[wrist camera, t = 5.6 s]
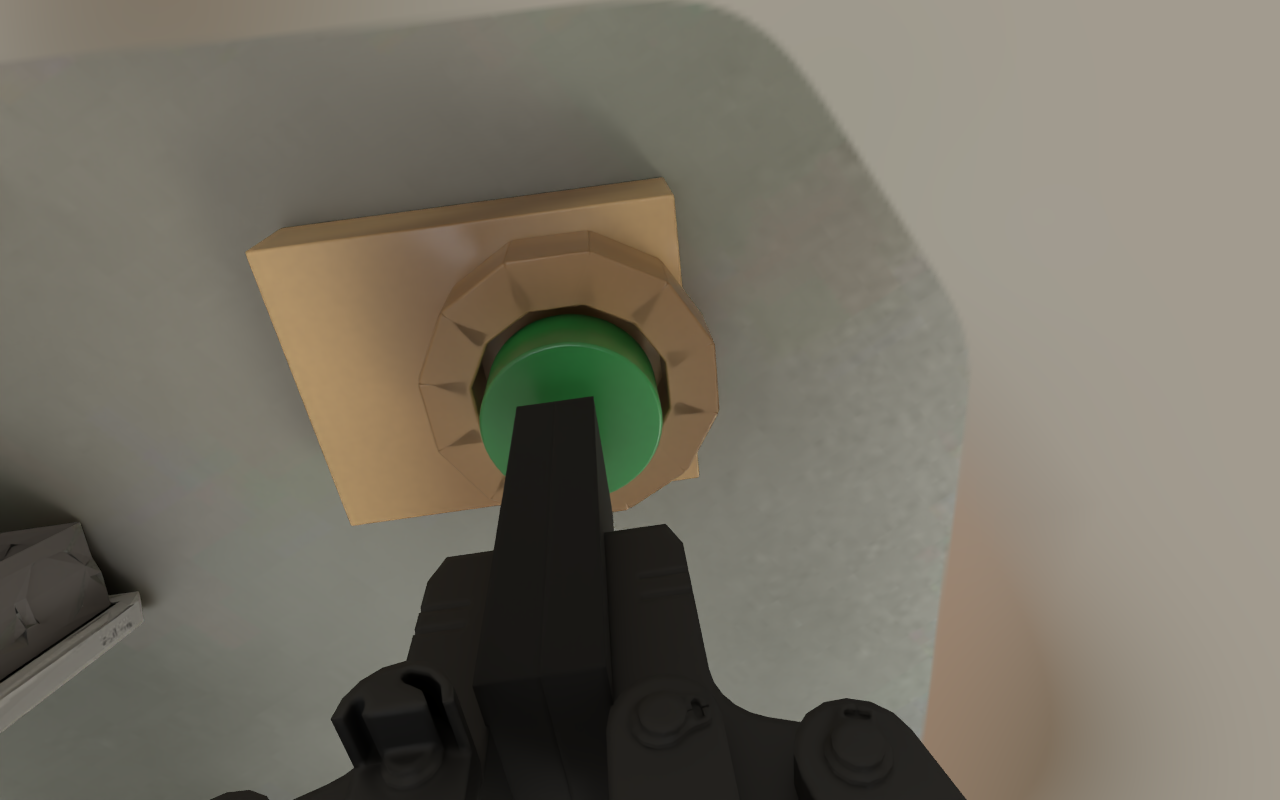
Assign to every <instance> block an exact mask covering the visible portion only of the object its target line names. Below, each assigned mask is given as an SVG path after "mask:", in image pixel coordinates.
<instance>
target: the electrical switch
mask: <svg viewBox="0 0 1280 800" xmlns="http://www.w3.org/2000/svg"><path fill="white" fill-rule="evenodd" d="M13 544H19V545H16V546H13ZM12 546H13V547H12ZM143 622H144V617H143V611H142V605H141V598H140V594H139V591H136V592H129V593H122V594H115V595H108V593H107V590H106V586H105V583H104V579H103V576H102V572H101V571H100V569H99V568H98V566H97V565H96V563H95V562H94V560H93V559H92V556H91V553H90V551H89V548H88V545H87V542H86V539H85V536H84V533H83V530H82V527H81V524H80V522H75V523H68V524H61V525H53V526H46V527H39V528H32V529H25V530H18V531H11V532H4V533H0V733H1V732H3V731H4V730H5V729H6V728H8V727H9V726H10V725H12V724H13V723H14V722H16V721H17V720H18V719H19V718H21V717H22V716H23V715H25V714H26V713H27V712H29V711H30V710H31V709H32V708H34V707H35V706H36V705H38V704H39V703H40V702H42V701H43V700H44V699H45V698H47V697H48V696H49V695H51V694H52V693H53V692H54V691H56V690H57V689H58V688H60V687H61V686H62V685H64V684H65V683H66V682H67V681H69V680H70V679H71V678H73V677H74V676H75V675H77V674H78V673H79V672H80V671H82V670H83V669H84V668H86V667H87V666H88V665H90V664H91V663H92V662H93V661H95V660H96V659H97V658H99V657H100V656H101V655H102V654H104V653H105V652H106V651H108V650H109V649H110V648H112V647H113V646H114V645H115V644H117V643H118V642H119V641H120V640H122V639H123V638H124V637H126V636H127V635H128V634H129V633H131V632H132V631H133V630H134V629H136V628H137V627H138V626H139V625H141V624H142V623H143Z"/></svg>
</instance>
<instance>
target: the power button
mask: <svg viewBox="0 0 1280 800" xmlns="http://www.w3.org/2000/svg"><path fill="white" fill-rule="evenodd" d="M590 396H593V397H594V403H595V409H596V415H597V421H598V427H599V433H600V439H601V445H602V451H603V457H604V463H605V469H606V475H607V481H608V487H609V493H612V492H614V491H616V490H618V489H620V488H622V487H623V486H625V485H627V484H628V483H629V482H631V481H632V480H633V479H635V478H636V477H637V476H638V475H639V474H640V473H641V472H642V471H643V470H644V469H645V467H646V466H647V465H648V463H649V462H650V461H651V459H652V457H653V456H654V454H655V452H656V450H657V447H658V445H659V442H660V438H661V434H662V426H663V416H662V408H661V403H660V398H659V394H658V389H657V385H656V380H655V376H654V371H653V368H652V366H651V363H650V361H649V359H648V357H647V355H646V353H645V352H644V350H643V349H642V347H641V346H640V345H639V344H638V343H637V341H636V340H635V339H634V338H633V337H632V336H630V335H629V334H628V333H627V332H625V331H624V330H623V329H621V328H619V327H618V326H616V325H614V324H612V323H610V322H608V321H606V320H603V319H600V318H596V317H593V316H587V315H581V314H563V315H555V316H550V317H546V318H543V319H540V320H537V321H535V322H533V323H531V324H529V325H527V326H525V327H523V328H522V329H520V330H519V331H517V332H516V333H515V334H514V335H513V336H511V337H510V338H509V339H508V340H507V341H506V343H505V344H504V345H503V346H502V347H501V349H500V350H499V352H498V353H497V355H496V357H495V359H494V361H493V364H492V366H491V370H490V373H489V377H488V381H487V384H486V388H485V392H484V396H483V399H482V403H481V408H480V415H479V425H480V433H481V438H482V441H483V444H484V447H485V449H486V451H487V453H488V455H489V457H490V459H491V460H492V462H493V463H494V464H495V466H496V467H497V468H498V469H499V470H500V472H501V473H502V474H503V475H504V476H505V477H506V471H507V464H508V458H509V452H510V445H511V439H512V433H513V426H514V420H515V414H516V408H517V407H518V406H525V405H532V404H540V403H547V402H554V401H561V400H568V399H575V398H583V397H590Z"/></svg>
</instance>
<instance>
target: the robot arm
mask: <svg viewBox="0 0 1280 800" xmlns="http://www.w3.org/2000/svg"><path fill="white" fill-rule="evenodd" d="M331 721H332V723H333V725H334V727H335V729H336V731H337V733H338V735H339V737H340V739H341V741H342V743H343V745H344V747H345V749H346V752H347V754H348V756H349V758H350V760H351V762H352V764H353V766H354V768H353V769H352V770H351V771H349V772H348V773H347V774H345V775H344V776H342V777H340V778H338V779H337V780H335V781H333V782H331V783H329V784H327V785H325V786H323V787H321V788H319V789H316V790H314V791H312V792H310V793H307V794H305V795H303V796H301V797H298V798H296V799H294V800H966V799H965V797H964V796H963V795H962V793H960V791H959V790H958V788H957V787H956V786H955V785H954V783H953V782H952V781H951V779H950V778H949V777H948V775H947V774H946V773H945V772H944V770H943V769H942V768H941V767H940V765H939V764H938V763H937V761H936V760H935V759H934V758H933V756H932V755H931V754H930V753H929V751H928V750H927V749H926V747H925V746H924V745H923V744H922V742H921V741H920V740H919V738H918V737H917V736H916V735H915V733H914V732H913V731H912V730H911V729H910V728H909V727H908V726H907V725H906V724H905V723H904V722H903V721H902V720H901V719H900V718H898V717H897V716H896V715H895V714H894V713H893V712H891V711H889V710H887V709H884V708H882V707H880V706H878V705H876V704H874V703H872V702H869V701H862V700H855V699H848V698H845V699H840V700H834V701H829V702H824V703H822V704H821V705H819V706H818V707H816V708H814V709H813V710H811V711H810V712H808V713H807V714H806V715H805V717H804V718H803V720H802V721H801V722H796V721H790V720H783V719H777V718H770V717H766V716H762V715H758V714H754V713H751V712H749V711H747V710H745V709H743V708H741V707H739V706H737V705H735V704H734V703H732V702H731V701H730V700H729V699H728V698H727V697H725V696H724V695H723V694H722V693H721V691H720V690H719V689H718V687H717V686H716V684H715V683H714V681H713V679H712V676H711V673H710V670H709V667H708V662H707V657H706V652H705V648H704V643H703V638H702V633H701V628H700V624H699V619H698V614H697V609H696V604H695V599H694V595H693V591H692V585H691V580H690V575H689V572H688V566H687V561H686V556H685V551H684V547H683V543H682V542H681V540H680V539H679V538H678V537H677V536H676V535H675V534H674V533H673V532H672V530H671V529H670V528H669V527H668V526H667V525H666V524H661V525H654V526H647V527H640V528H633V529H626V530H619V531H614V528H613V515H612V505H611V499H610V493H609V487H608V481H607V475H606V469H605V463H604V457H603V451H602V445H601V439H600V433H599V427H598V421H597V415H596V409H595V403H594V397H593V396H590V397H583V398H575V399H568V400H561V401H554V402H547V403H540V404H532V405H525V406H518V407H517V408H516V414H515V420H514V426H513V433H512V439H511V445H510V452H509V458H508V464H507V471H506V477H505V483H504V489H503V496H502V502H501V508H500V515H499V521H498V527H497V533H496V540H495V546H494V551H487V552H480V553H473V554H466V555H459V556H452V557H447V558H446V559H445V560H444V562H443V563H442V564H441V565H440V567H439V568H438V569H437V570H436V572H435V573H434V574H433V576H432V577H431V578H430V579H429V581H428V583H427V586H426V590H425V594H424V597H423V601H422V605H421V613H419V616H418V620H417V623H416V627H415V635H413V638H412V642H411V646H410V649H409V653H408V657H407V660H406V661H404V662H401V663H397V664H394V665H391V666H387V667H384V668H381V669H380V670H378V671H376V672H375V673H373V674H371V675H370V676H368V677H366V678H364V679H363V680H361V681H360V682H359V683H358V684H357V685H356V686H355V687H354V688H353V689H352V690H351V691H350V692H349V693H348V694H347V695H346V696H345V697H344V698H342V700H341V702H340V704H339V705H338V707H337V709H336V711H335V713H334V714H333V716H332V718H331ZM211 800H269V799H268V797H267V796H265V795H262V794H259V793H256V792H254V791H251V790H245V791H236V792H227V793H225V794H222V795H220V796H218V797H215V798H213V799H211Z"/></svg>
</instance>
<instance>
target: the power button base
mask: <svg viewBox="0 0 1280 800" xmlns="http://www.w3.org/2000/svg"><path fill="white" fill-rule="evenodd" d="M246 256H247V259H248V262H249V264H250V267H251V269H252V272H253V274H254V277H255V280H256V282H257V285H258V287H259V290H260V292H261V295H262V298H263V300H264V303H265V305H266V308H267V310H268V313H269V316H270V318H271V321H272V323H273V326H274V328H275V331H276V334H277V336H278V339H279V341H280V344H281V346H282V349H283V352H284V354H285V357H286V359H287V362H288V364H289V367H290V370H291V372H292V375H293V377H294V380H295V382H296V385H297V388H298V390H299V393H300V395H301V398H302V400H303V403H304V406H305V408H306V411H307V413H308V416H309V418H310V421H311V424H312V426H313V429H314V431H315V434H316V436H317V439H318V442H319V444H320V447H321V449H322V452H323V454H324V457H325V460H326V462H327V465H328V467H329V470H330V472H331V475H332V478H333V480H334V483H335V485H336V488H337V490H338V493H339V496H340V498H341V501H342V503H343V506H344V508H345V511H346V514H347V516H348V519H349V521H350V524H351V525H352V526H354V525H361V524H368V523H375V522H382V521H390V520H397V519H404V518H411V517H418V516H425V515H433V514H440V513H447V512H454V511H461V510H468V509H475V508H483V507H490V506H497V505H501V502H502V496H503V489H504V483H505V476H504V475H503V474H502V473H501V472H500V470H499V469H498V468H497V467H496V466H495V464H494V463H493V462H492V460H491V459H490V457H489V455H488V453H487V451H486V449H485V447H484V444H483V441H482V438H481V433H480V425H479V415H480V408H481V403H482V399H483V396H484V392H485V388H486V384H487V381H488V377H489V373H490V370H491V366H492V364H493V361H494V359H495V357H496V355H497V353H498V352H499V350H500V349H501V347H502V346H503V345H504V344H505V343H506V341H507V340H508V339H509V338H510V337H511V336H513V335H514V334H515V333H516V332H517V331H519V330H520V329H522V328H523V327H525V326H527V325H529V324H531V323H533V322H535V321H537V320H540V319H543V318H546V317H550V316H555V315H563V314H581V315H587V316H593V317H596V318H600V319H603V320H606V321H608V322H610V323H612V324H614V325H616V326H618V327H619V328H621V329H623V330H624V331H625V332H627V333H628V334H629V335H630V336H632V337H633V338H634V339H635V340H636V341H637V343H638V344H639V345H640V346H641V347H642V349H643V350H644V352H645V353H646V355H647V357H648V359H649V361H650V363H651V366H652V368H653V371H654V376H655V380H656V385H657V389H658V394H659V398H660V403H661V408H662V416H663V426H662V434H661V438H660V442H659V445H658V447H657V450H656V452H655V454H654V456H653V457H652V459H651V461H650V462H649V463H648V465H647V466H646V467H645V469H644V470H643V471H642V472H641V473H640V474H639V475H638V476H637V477H636V478H635V479H633V480H632V481H631V482H629V483H628V484H627V485H625V486H623V487H622V488H620V489H618V490H616V491H614V492H612V493H610V499H611V505H612V512H616V511H623V510H628V508H632V507H633V506H635V505H636V504H638V503H639V502H641V501H642V500H644V499H645V498H647V497H648V496H650V495H651V494H653V493H655V492H656V491H658V490H659V489H661V488H662V487H664V486H665V485H667V484H668V483H670V482H671V481H676V480H683V479H690V478H697V477H699V466H698V455H697V452H698V450H699V448H700V446H701V444H702V443H703V441H704V439H705V437H706V435H707V433H708V431H709V429H710V428H711V426H712V424H713V422H714V420H715V418H716V416H717V415H718V411H719V397H718V383H717V368H716V354H715V344H714V341H713V339H712V336H711V334H710V332H709V329H708V327H707V325H706V322H705V320H704V318H703V316H702V314H701V312H700V311H699V310H698V308H697V307H696V306H695V304H694V303H693V302H692V300H691V299H690V298H689V296H688V295H687V294H686V292H685V291H684V290H683V288H682V278H681V267H680V256H679V245H678V234H677V223H676V212H675V201H674V195H673V193H672V192H671V190H670V188H669V186H668V185H667V183H666V181H665V179H664V178H662V177H661V178H653V179H646V180H638V181H631V182H623V183H616V184H608V185H601V186H593V187H586V188H579V189H571V190H564V191H556V192H549V193H541V194H534V195H526V196H519V197H511V198H504V199H496V200H489V201H481V202H474V203H466V204H459V205H452V206H444V207H437V208H429V209H422V210H414V211H407V212H399V213H392V214H384V215H377V216H369V217H362V218H354V219H347V220H339V221H332V222H324V223H317V224H310V225H302V226H295V227H287V228H281V229H279V230H278V231H276V232H275V233H273V234H272V235H270V236H269V237H267V238H266V239H264V240H263V241H261V242H259V243H258V244H256V245H255V246H253V247H252V248H250V249H249V250H247V251H246Z"/></svg>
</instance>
